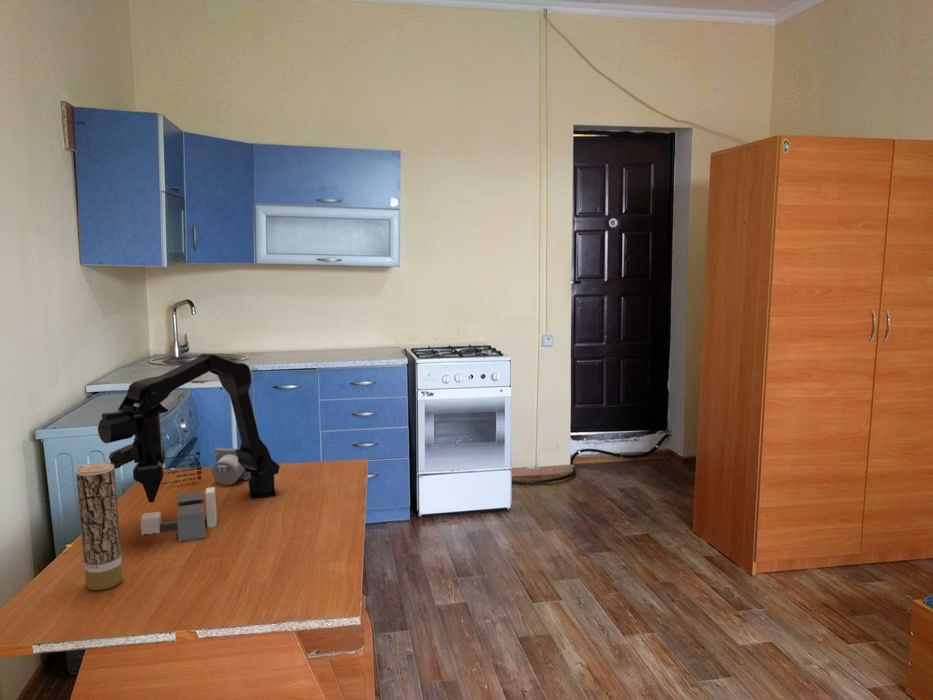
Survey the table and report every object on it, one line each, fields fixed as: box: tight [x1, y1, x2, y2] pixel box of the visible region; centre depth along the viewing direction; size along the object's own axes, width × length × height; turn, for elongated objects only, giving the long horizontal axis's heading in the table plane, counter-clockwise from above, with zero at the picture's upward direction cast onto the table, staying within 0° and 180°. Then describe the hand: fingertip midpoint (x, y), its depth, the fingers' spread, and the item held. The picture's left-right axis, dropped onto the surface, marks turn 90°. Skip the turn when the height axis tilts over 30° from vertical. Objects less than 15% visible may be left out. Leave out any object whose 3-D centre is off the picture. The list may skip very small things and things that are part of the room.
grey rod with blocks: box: [140, 486, 218, 536], centre depth 165 cm, size 17×4×9 cm, turn 107°
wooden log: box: [75, 462, 124, 591], centre depth 136 cm, size 7×7×25 cm
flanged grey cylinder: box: [161, 447, 250, 486], centre depth 196 cm, size 27×11×10 cm, turn 118°
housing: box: [176, 490, 207, 542], centre depth 166 cm, size 6×16×6 cm, turn 23°
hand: (152, 495), depth 162 cm, fingers open, 9 cm apart
